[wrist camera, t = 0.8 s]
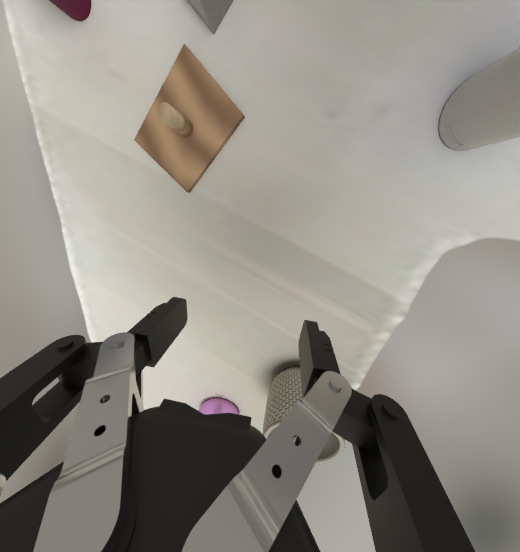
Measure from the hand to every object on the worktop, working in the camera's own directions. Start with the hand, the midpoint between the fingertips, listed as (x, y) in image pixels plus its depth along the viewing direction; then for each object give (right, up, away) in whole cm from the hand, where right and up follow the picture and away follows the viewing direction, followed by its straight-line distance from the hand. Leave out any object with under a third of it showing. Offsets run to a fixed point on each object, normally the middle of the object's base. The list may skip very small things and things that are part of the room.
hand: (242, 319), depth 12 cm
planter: (+12, -26, +41) cm, 50 cm away
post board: (-11, +28, +20) cm, 36 cm away
